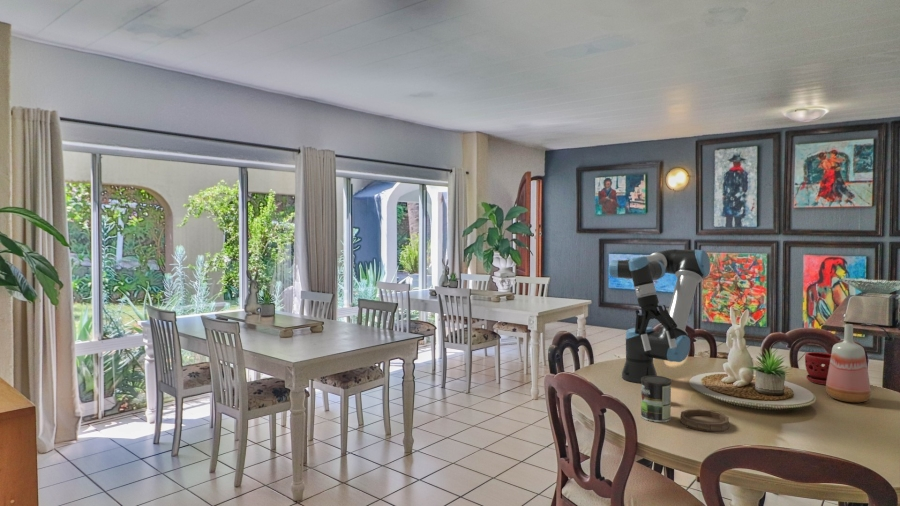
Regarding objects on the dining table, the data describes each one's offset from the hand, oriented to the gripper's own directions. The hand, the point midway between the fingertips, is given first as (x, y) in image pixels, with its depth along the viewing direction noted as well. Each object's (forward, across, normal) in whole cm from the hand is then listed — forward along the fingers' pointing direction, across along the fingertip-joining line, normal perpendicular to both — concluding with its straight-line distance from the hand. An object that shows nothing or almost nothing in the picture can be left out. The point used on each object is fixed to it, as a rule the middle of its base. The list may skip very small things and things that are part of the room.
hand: (660, 349), depth 218 cm
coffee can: (+23, +5, -15) cm, 28 cm away
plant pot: (+29, +5, +81) cm, 87 cm away
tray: (+27, +17, -5) cm, 32 cm away
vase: (+34, +23, +65) cm, 77 cm away
